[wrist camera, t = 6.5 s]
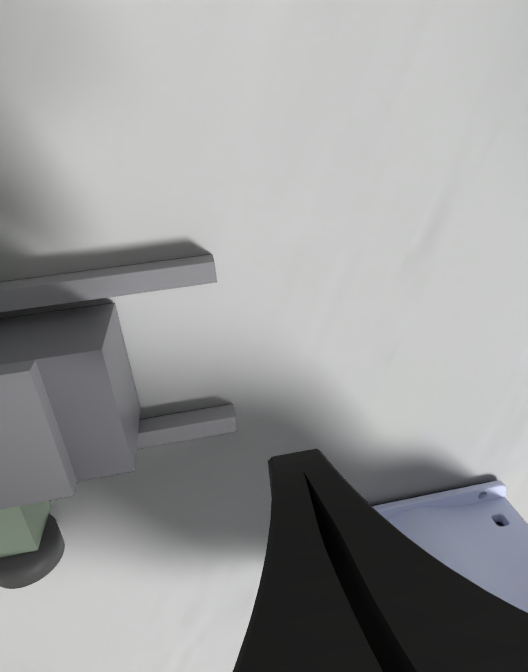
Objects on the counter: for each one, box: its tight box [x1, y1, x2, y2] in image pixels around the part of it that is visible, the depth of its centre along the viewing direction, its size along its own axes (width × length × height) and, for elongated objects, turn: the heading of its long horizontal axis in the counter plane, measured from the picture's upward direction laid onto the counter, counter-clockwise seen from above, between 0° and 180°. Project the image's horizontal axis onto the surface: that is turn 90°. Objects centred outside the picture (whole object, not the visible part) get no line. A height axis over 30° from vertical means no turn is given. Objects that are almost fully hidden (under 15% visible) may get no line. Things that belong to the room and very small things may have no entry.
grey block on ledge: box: [0, 303, 140, 510], centre depth 17 cm, size 5×5×5 cm
